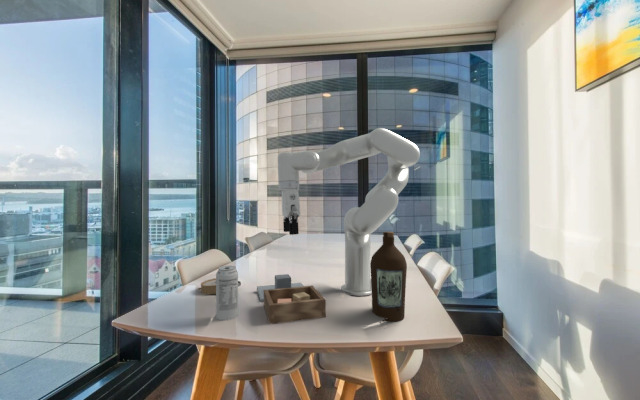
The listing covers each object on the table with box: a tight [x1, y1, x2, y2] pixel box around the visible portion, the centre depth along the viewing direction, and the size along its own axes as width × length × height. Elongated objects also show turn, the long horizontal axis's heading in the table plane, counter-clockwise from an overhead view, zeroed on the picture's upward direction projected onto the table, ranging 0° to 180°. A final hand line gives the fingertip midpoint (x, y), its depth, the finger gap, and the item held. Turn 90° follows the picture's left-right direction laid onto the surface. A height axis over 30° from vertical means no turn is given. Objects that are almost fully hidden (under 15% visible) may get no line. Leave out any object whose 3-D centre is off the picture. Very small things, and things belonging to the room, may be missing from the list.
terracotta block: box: [278, 299, 291, 303], centre depth 85 cm, size 4×4×4 cm
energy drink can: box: [215, 265, 239, 321], centre depth 84 cm, size 6×6×15 cm
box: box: [263, 285, 327, 325], centre depth 88 cm, size 16×14×6 cm
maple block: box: [293, 292, 310, 301], centre depth 91 cm, size 4×4×4 cm
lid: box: [256, 273, 304, 303], centre depth 105 cm, size 17×15×7 cm
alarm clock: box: [197, 277, 242, 295], centre depth 111 cm, size 11×5×15 cm
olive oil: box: [370, 231, 408, 323], centre depth 87 cm, size 11×11×25 cm
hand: (290, 232), depth 108 cm, fingers open, 9 cm apart
